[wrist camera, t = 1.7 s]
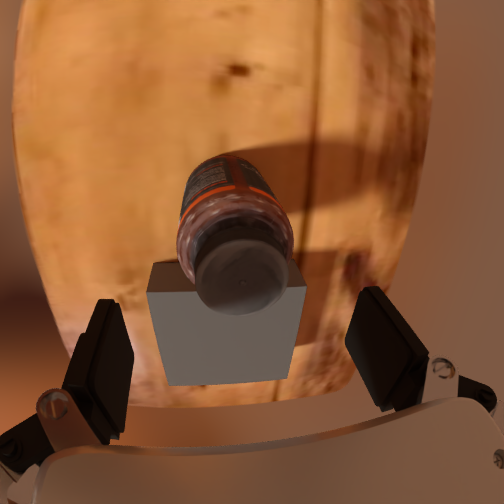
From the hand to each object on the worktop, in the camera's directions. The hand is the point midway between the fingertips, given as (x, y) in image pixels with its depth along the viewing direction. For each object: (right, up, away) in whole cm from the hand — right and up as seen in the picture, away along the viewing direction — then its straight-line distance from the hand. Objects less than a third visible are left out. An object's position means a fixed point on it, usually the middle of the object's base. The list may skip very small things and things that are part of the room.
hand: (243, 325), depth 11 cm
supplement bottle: (-2, +7, +11) cm, 13 cm away
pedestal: (-2, -3, +17) cm, 17 cm away
